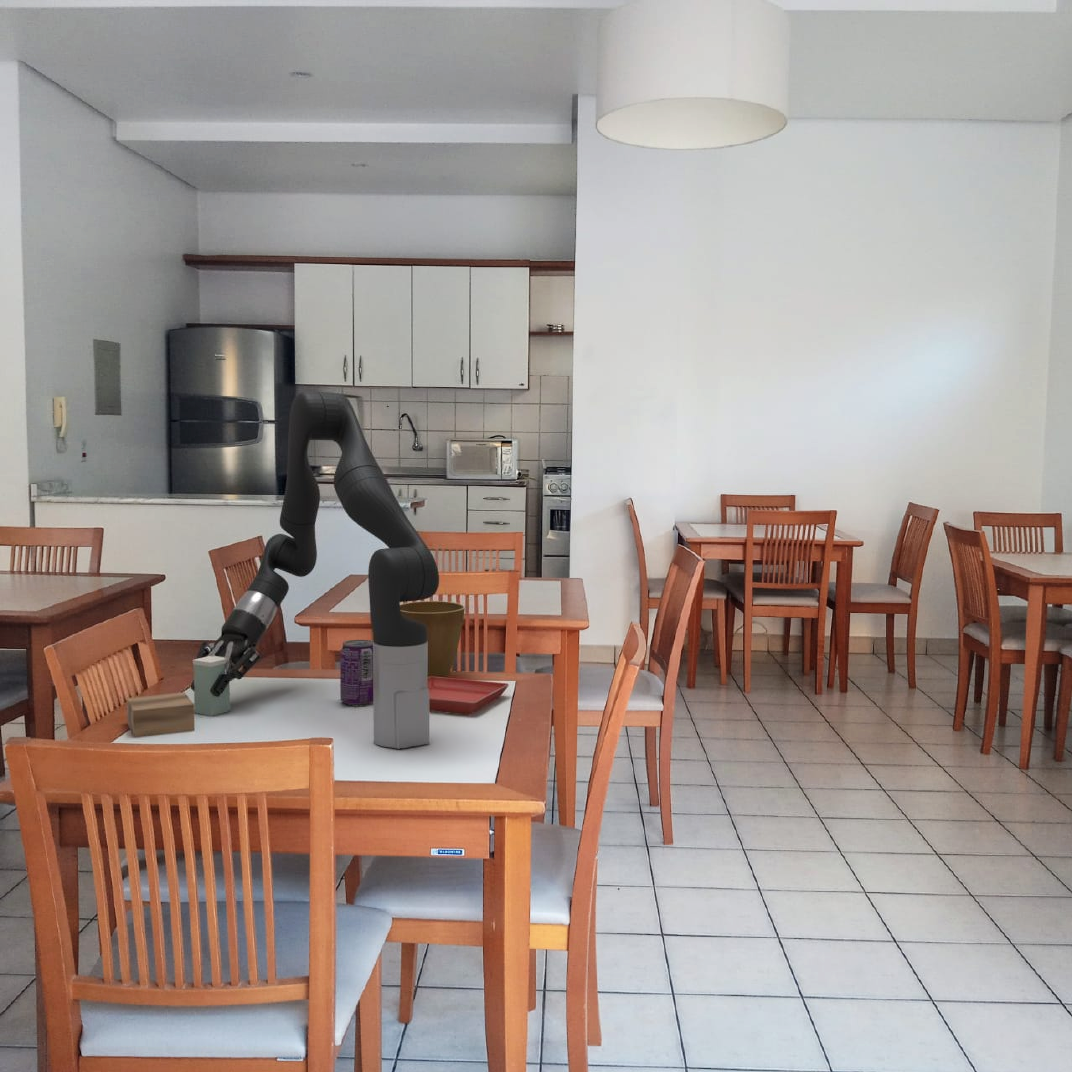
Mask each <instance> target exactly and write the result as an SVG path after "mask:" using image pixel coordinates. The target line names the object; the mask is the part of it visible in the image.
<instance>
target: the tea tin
mask: <svg viewBox="0 0 1072 1072" xmlns="http://www.w3.org/2000/svg"><path fill="white" fill-rule="evenodd" d="M226 660H227V659H225V657H218V656H213V657H211V656H208V657H203V658H199V659H196V658H195V659H192V665H193V680H194V691H193V692H194V693H193V695H194V700H193V701H194V703H193V704H194V714H198V713H199V714H198V715H203V716H209V717H213V716H217V715H220V714H224V713H226V712H227V713H228V712H230V711H231V697H230V695H231V694H230V693H231V692H230V691H231V690H230V685H231V684H230V682H229V683H228V685H227V686H226V688H225V689H224V691H223V693H222V694H220V696H219V697H216V696H214V695H213V694H212V693H211V692H210V689H211V688H212V686H213V684H214V683H215V681H216V680H217V678H218V676H219V675H220V674H221V675H222V670H223V668H224V666H225V663H226Z"/></svg>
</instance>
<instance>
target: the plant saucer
mask: <svg viewBox="0 0 1072 1072" xmlns="http://www.w3.org/2000/svg"><path fill="white" fill-rule="evenodd" d="M509 684H510V683H506V682H496V681H488V680H487V681H486V680H474V679H464V678H463V679H462V678H454V677H448V678H443V677H428V689H429V712H436V713H446V712H449V713H448V714H455V713H458V714H457V715H465V714H466V715H465V716H468V715H469V714H470V715H472V714H474V713H476V712H477V711H479V710H481V709H482V708H485V707H486V706H488V705H490V704H491V703H493V702H495V701H496V700H498V699H499V698H500V697H501V696H502V695H503V694H504V692H505V691H506V690H507V688H508V687H509ZM473 712H474V713H473ZM470 715H469V716H470Z"/></svg>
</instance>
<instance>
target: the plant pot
mask: <svg viewBox="0 0 1072 1072" xmlns="http://www.w3.org/2000/svg"><path fill="white" fill-rule="evenodd" d="M465 608H466V606H465V605H464V604H462V603H458V602H453V601H443V600H419V601H409V602H403V603H400V610H401V614H402V615H403V616H404V617H406V618H408V619H411V620H414V621H418V622H421V623H423V624H425V625H426V626H427V630H428V677H443V678H449V676H450V673H451V670H452V667H453V665H454V662H455V660H456V659H455V658H456V655H457V652H458V647H459V643H460V639H461V634H462V629H463V623H464V616H465V611H466V609H465Z"/></svg>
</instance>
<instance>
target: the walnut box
mask: <svg viewBox="0 0 1072 1072" xmlns="http://www.w3.org/2000/svg"><path fill="white" fill-rule="evenodd" d="M126 718H127V719H126V720H127V723H126V724H127V727H128V728H129V730H130V732H131V734H132V736H133V738H142V737H153V736H159V735H169V734H176V733H185V732H192V731H193V732H194V731H195V703H193V701H192V700H191V699H190V697H189V696H188V695H187V693H186V692H185V691H184V692H183V691H182V692H171V693H163V694H162V693H161V694H153V695H143V696H133V697H126Z"/></svg>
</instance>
